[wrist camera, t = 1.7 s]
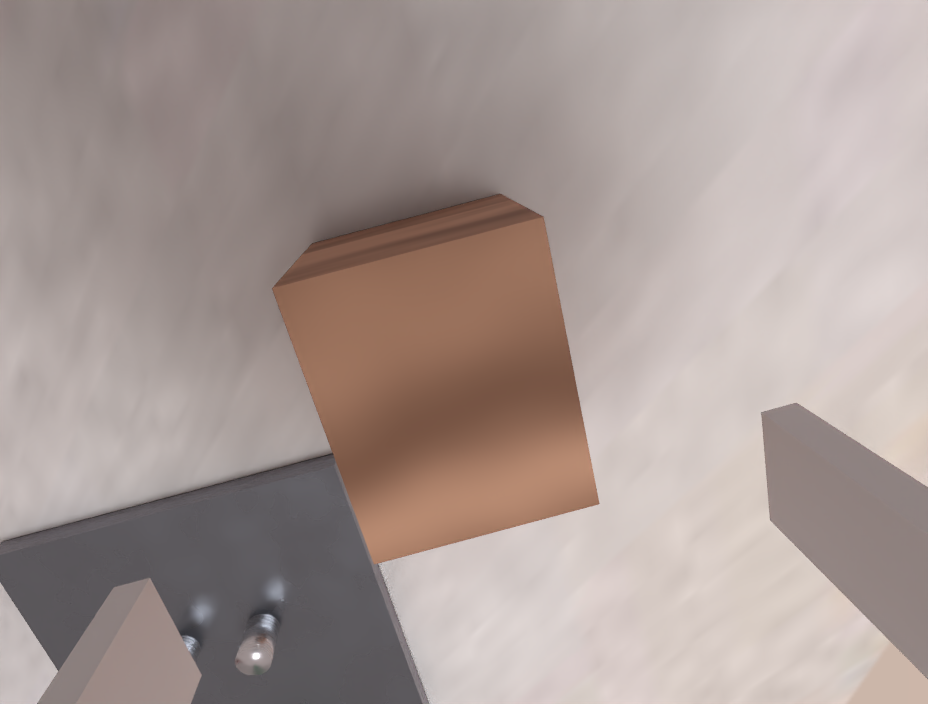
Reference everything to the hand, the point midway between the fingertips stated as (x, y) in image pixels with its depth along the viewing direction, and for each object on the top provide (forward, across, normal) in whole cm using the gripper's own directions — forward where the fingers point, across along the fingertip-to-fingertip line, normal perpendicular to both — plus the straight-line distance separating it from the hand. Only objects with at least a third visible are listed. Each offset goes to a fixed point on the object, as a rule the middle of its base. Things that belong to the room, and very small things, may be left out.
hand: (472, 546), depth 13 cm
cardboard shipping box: (+15, 0, 0) cm, 15 cm away
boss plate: (+15, -14, -13) cm, 24 cm away
